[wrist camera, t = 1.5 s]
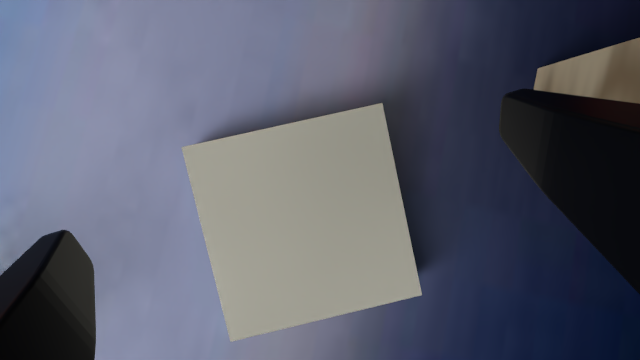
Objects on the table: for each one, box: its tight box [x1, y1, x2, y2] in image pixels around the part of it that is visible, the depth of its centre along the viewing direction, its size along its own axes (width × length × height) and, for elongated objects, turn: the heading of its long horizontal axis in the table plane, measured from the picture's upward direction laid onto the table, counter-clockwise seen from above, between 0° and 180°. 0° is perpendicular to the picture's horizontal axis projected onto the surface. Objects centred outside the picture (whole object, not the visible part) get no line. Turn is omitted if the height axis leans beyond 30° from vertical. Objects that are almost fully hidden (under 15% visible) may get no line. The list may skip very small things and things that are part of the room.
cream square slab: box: [182, 103, 422, 342], centre depth 23 cm, size 10×10×3 cm
